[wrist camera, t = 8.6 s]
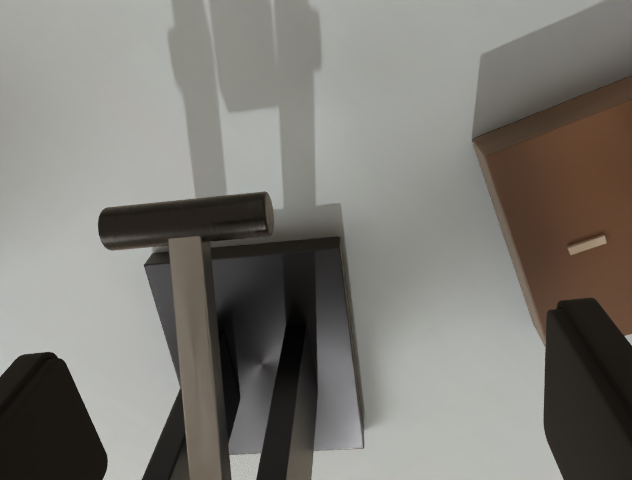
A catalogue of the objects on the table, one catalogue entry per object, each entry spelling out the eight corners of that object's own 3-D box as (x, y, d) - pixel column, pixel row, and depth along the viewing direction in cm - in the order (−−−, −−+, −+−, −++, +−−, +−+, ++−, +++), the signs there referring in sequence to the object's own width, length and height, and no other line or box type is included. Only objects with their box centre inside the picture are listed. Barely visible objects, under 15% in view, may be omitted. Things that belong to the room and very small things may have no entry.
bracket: (152, 253, 25) (-13, 476, 14) (340, 236, 24) (330, 460, 13) (205, 439, 31) (117, 716, 19) (364, 431, 30) (372, 718, 18)
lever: (122, 209, 19) (87, 205, 17) (274, 194, 18) (259, 188, 16) (156, 575, 19) (125, 624, 17) (308, 572, 18) (299, 622, 16)
